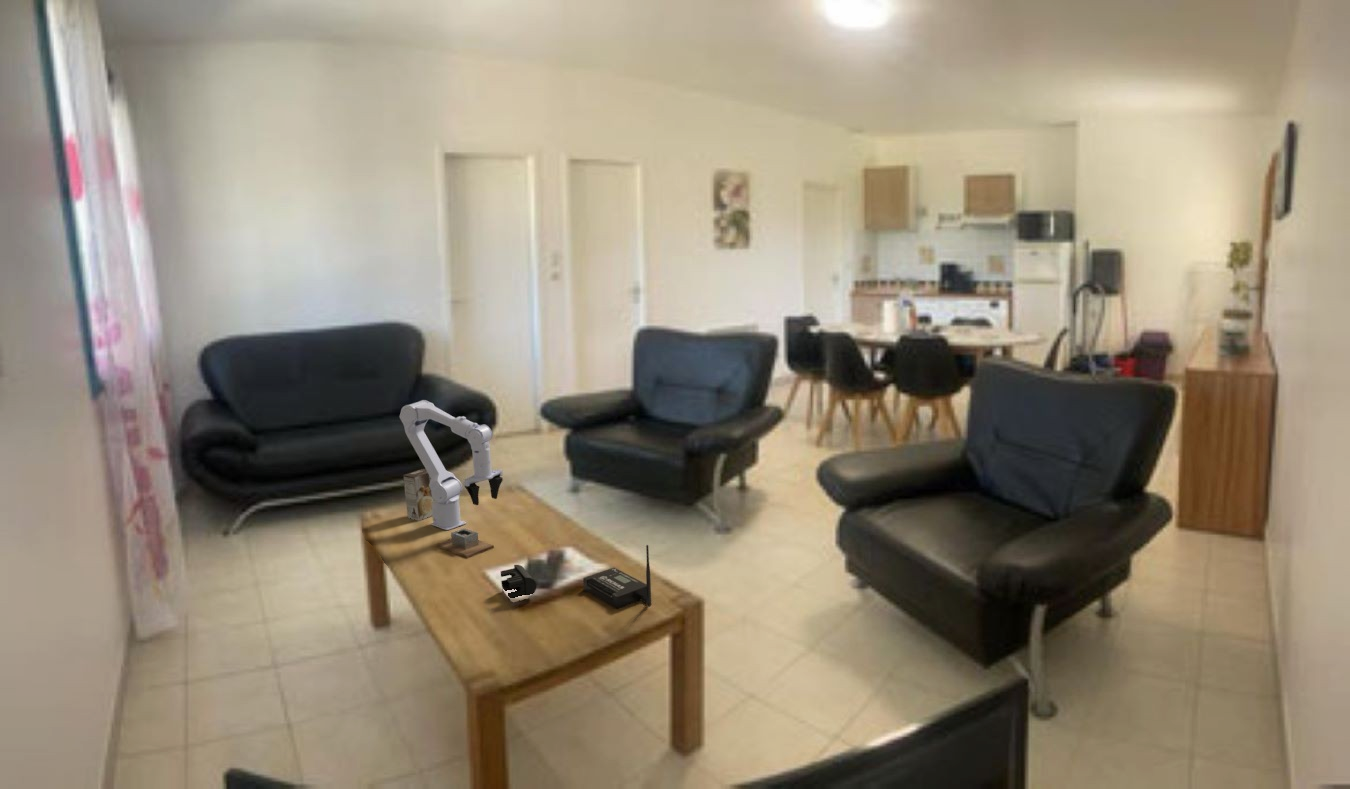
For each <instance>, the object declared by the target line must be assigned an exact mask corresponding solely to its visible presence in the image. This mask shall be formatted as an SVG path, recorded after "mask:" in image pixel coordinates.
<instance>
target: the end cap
mask: <svg viewBox="0 0 1350 789" xmlns="http://www.w3.org/2000/svg"><path fill="white" fill-rule="evenodd" d="M507 576H510V577H507ZM500 577H501V578H503V577H507V578H506V579H504V580H501V581H500V582H501V588H502V590H503V589H504V590H505V591H507V590H512V589H514V590H515V589H516V590H517V591H515V592H511V593H508V596H509V597H510V598H515V597H518V596H522V595H530V594H533V593H534V594H535V592H536V590H537V582H536V581H535V579H534V577H533V576H531V574H530V573H529V572H528V571H527V570H526V569H525V567H523V566H522V565H520V564H513V568H510V569H505V570H501V571H500ZM534 594H533V595H534Z"/></svg>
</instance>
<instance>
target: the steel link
mask: <svg viewBox="0 0 1350 789" xmlns="http://www.w3.org/2000/svg"><path fill="white" fill-rule="evenodd" d="M463 534H467V536H464V535H463ZM478 535H479V533H478V532H476V531H473V530H471V529H468V528H464V527H463V528H460V529H458V530H455V531H453V532H450V536H451V538H450V539H452V545H454V546H457V547H459V548H462V549H465V550H466V549H469V548H471V547H474V546H477V545H479V543H478V540H479V536H478Z"/></svg>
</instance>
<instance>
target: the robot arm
mask: <svg viewBox="0 0 1350 789" xmlns="http://www.w3.org/2000/svg"><path fill="white" fill-rule="evenodd" d="M399 419H400V421H401V423H402V424H403V427H404V432H405V435H406V436H407V439H408V440H409V442H410V444H411V445H412V447H413V450H414V451H415V453H416V454H417V456H418V457H419V460H420V461H421V463H422V465H423V466H424V469H426V470H427V472H428V474H429V475H430V477H431V481H430V484H429V487H430V489H431V494H432V497H433V499H434V500H435V501H434V502H433V504H432V513H433V516H432V522H431V524H430V525H432V526H433V527H437V528H439V529H442V530H444V531H450V530H452V529H453V530H454V529H455V528H458V527H460V526H463V525H466V524H467V522H466V521H464V520H461V510H460V499H459V498H460V496H461V493H462V492H463V487H464V489H466V491H467V492H468V495H469V497H470V499H471V502H472V504H473V505H475V506H479V502H480V501H479V493H480V492H479V491H480V486H479V485H477V484H478V483H480V482H484V481H487V480H488V483H489V488H490V495H491V498H492V499H494V500H497V499H498V494H499V490H500V488H501V487H500V486H501V484H502V482H503V480H504V479H503V475H504V473H503V470H502V469H500V468H498V469H494V470H492V457H491V446H490V440H492V438H493V432H492V429H491V428H490V427H489V426H488V425H487V424H478V423H477V422H473V421H470V420H469V419H467V417H466V416H464V415H463V416H457V417H455V416H452V415H451V414H449V413H447V412H445V411H444V410H442V409H440V408H439V407H437V406H435V405H434V403H433V402H430V401H428V400H426V399H421V400H419V401H417V402H413V403H410V404H405V405H404V406H402V408H401V410H400V414H399ZM429 420H432V421H434V422H437V423H440V424H442V425H444V426H447V427H450V430H451V432H452V433H454V434H456V435H457V436H460V437H461V438H464V439H466V440H467V442H468V443H469V444H470V449H471V452H472V462H473V474H472V475H471V476H469V477H468V478H465V479H463V482H461V481H460V479H458V478H457V477H456V476H455V474H454V473H453V472H452V471H451V472H450V471H448V470H446V468H445V466H444V464H443V462H442V460H441V459H440V457H439V455H438V454H437V452H436V450H435V448H434V446H433V445H432V443H431V442H430V440H429V438H428V436H427V435H426V432H425V431H424V430H425V426H426V424H427V422H428V421H429ZM462 483H463V484H462Z"/></svg>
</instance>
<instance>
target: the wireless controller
mask: <svg viewBox="0 0 1350 789" xmlns="http://www.w3.org/2000/svg"><path fill="white" fill-rule="evenodd" d="M645 547H646V549H645V550H646V553H645V554H646V566H645V567H646V570H645V573H646V574H645V575H646V576H645V580H646V583H645V582H643V581H641V580H639V579H637V578H635V577H634V576H631V575H629V574H628V573H626V572H624V571H622V570H620V569H618V568H616V567H612V568H608V569H606V570H602V571H600V572H597V573H594V574H592V575H589V576H585V577H583V578H582V579H583V590H584V591H585V592H586V593H587V592H588V594H591V595H592V596H594V597H596V598H597V599H599V600H601V601H602V602H604V603H606V604H607V605H609V606H611V607H613V608H614V609H616V610H620V609H623V608H625V607H627V606H630V605H632V604H635V603H637V602H641V601H642V602H644V603H645V604H646V605H647V606H651V605H652V588H651V587H652V583H651V582H652V580H651V579H652V578H651V569H650V567H651V566H650V557H649V556H650V553H649V544H646V546H645Z"/></svg>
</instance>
